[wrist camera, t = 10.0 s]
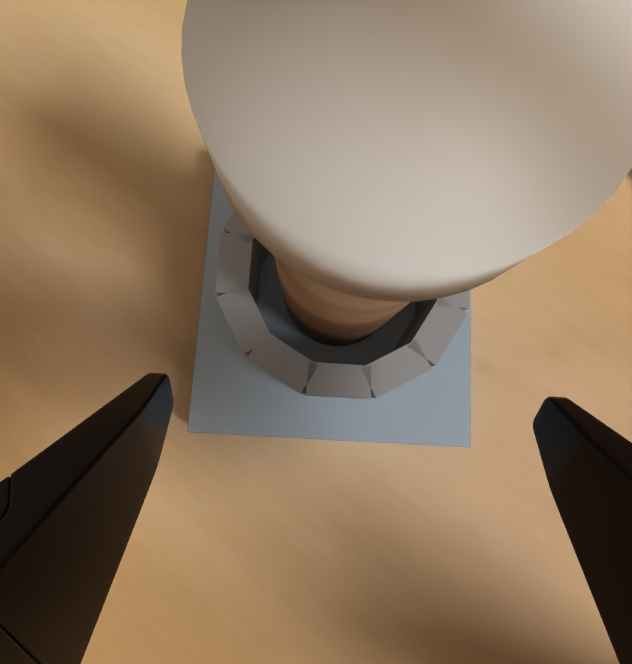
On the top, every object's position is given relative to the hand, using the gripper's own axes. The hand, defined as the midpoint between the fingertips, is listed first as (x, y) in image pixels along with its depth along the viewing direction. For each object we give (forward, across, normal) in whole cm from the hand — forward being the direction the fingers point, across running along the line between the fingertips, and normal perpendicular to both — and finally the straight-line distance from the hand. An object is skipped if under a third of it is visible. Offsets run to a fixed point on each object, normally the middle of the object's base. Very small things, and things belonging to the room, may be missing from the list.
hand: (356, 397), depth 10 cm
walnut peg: (+9, 0, +2) cm, 9 cm away
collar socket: (+10, 0, +3) cm, 10 cm away
